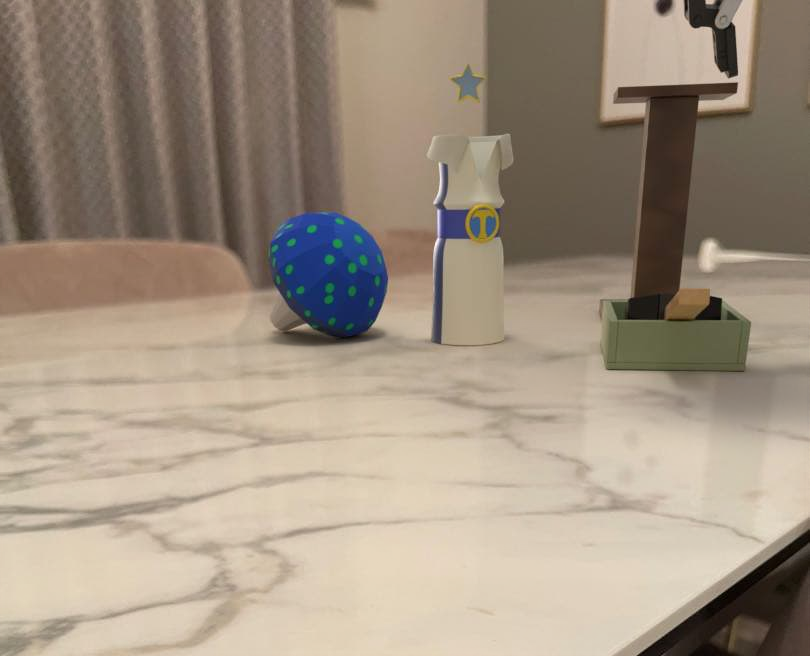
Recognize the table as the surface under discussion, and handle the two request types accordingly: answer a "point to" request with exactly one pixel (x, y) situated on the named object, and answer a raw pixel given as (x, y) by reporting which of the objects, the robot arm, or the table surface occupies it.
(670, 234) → the stand
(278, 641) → the table surface
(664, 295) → the pan
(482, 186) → the cream dress figure
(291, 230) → the mushroom
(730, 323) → the tray
